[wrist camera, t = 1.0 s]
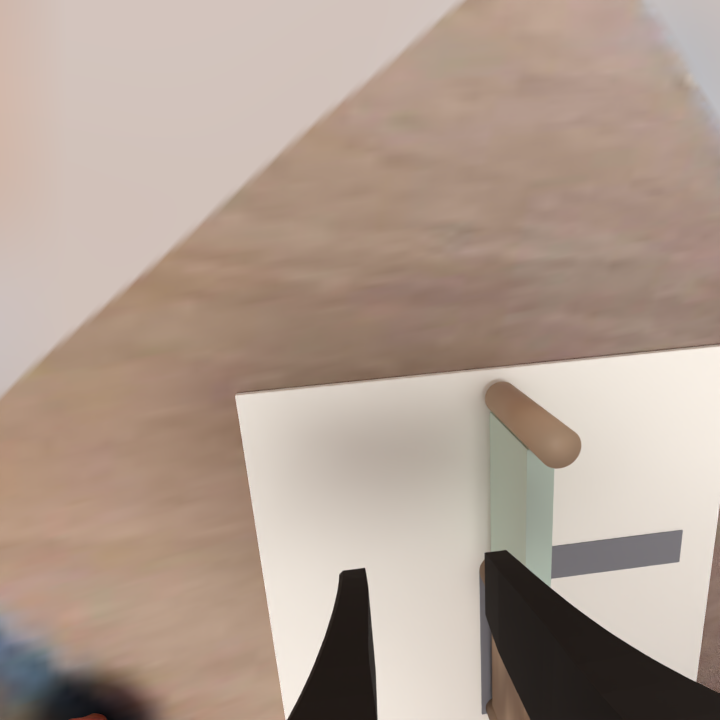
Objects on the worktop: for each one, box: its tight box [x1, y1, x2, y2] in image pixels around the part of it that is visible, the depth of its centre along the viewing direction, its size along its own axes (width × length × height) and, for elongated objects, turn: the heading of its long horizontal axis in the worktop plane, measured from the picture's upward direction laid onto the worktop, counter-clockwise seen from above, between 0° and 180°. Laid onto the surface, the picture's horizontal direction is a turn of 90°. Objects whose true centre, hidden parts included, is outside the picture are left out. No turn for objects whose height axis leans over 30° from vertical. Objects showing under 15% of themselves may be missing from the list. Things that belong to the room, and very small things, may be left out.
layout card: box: [235, 344, 720, 720], centre depth 23 cm, size 20×22×1 cm
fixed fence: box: [479, 559, 530, 720], centre depth 21 cm, size 10×2×6 cm, turn 5°
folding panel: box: [485, 381, 581, 588], centre depth 18 cm, size 8×1×5 cm, turn 5°
